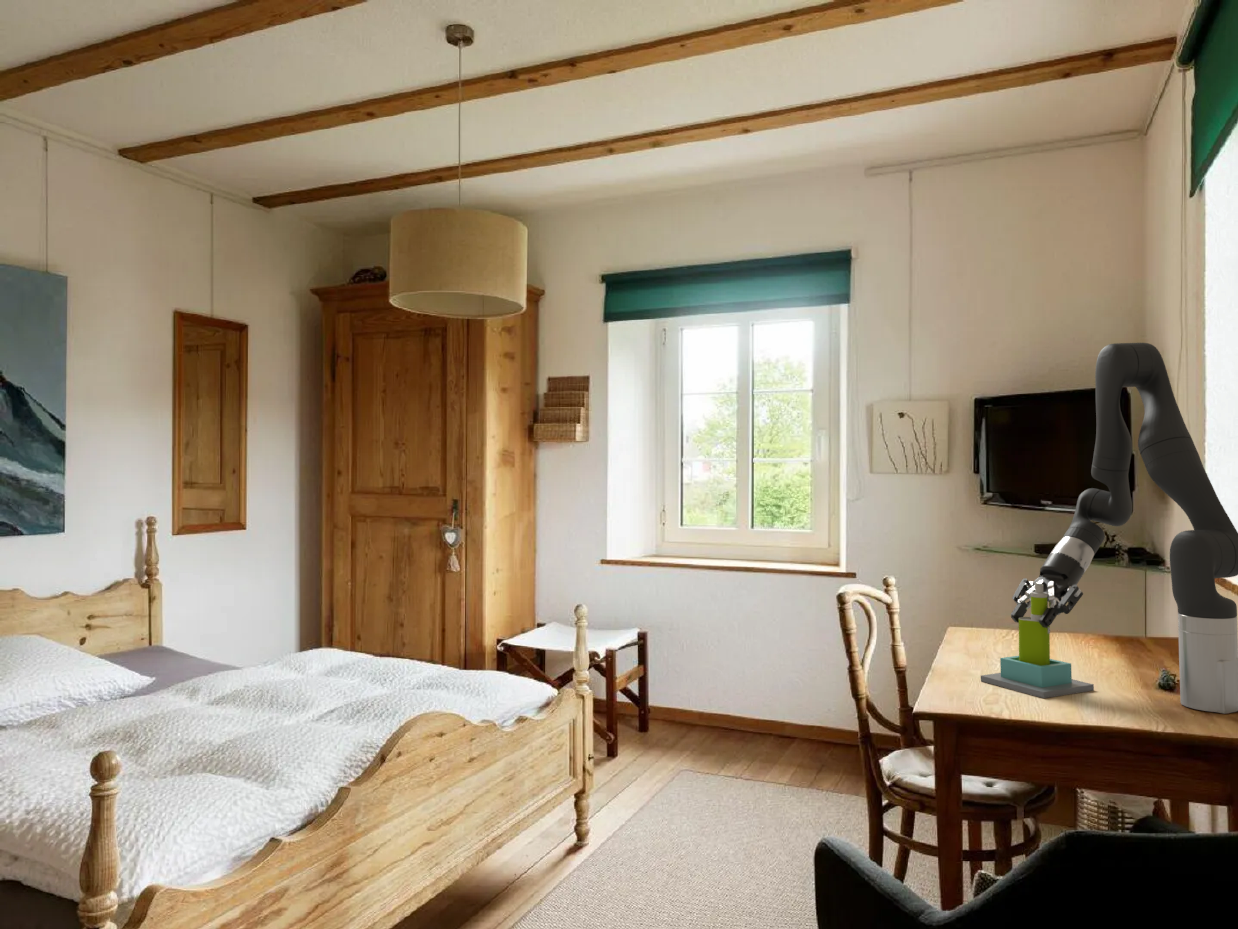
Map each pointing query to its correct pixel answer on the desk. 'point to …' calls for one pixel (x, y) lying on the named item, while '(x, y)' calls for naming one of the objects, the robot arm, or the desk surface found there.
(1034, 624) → the vape
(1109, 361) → the robot arm
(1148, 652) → the desk surface
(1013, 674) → the dock
